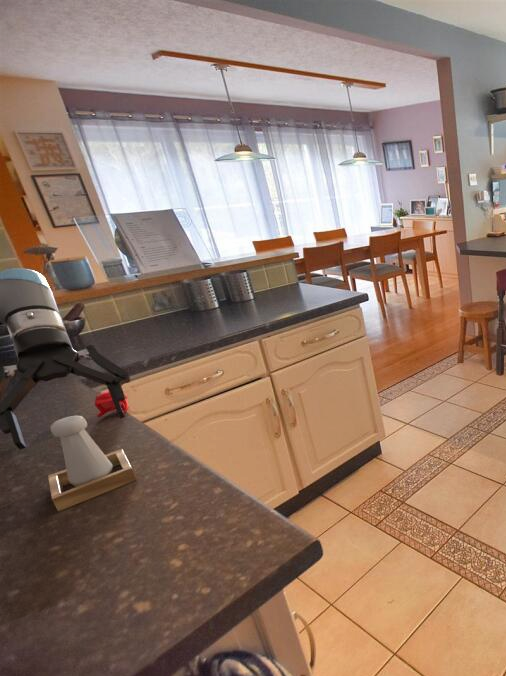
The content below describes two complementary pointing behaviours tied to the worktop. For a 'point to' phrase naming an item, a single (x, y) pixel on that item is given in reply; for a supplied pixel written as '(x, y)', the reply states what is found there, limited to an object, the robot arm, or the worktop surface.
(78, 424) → the salt shaker
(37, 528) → the worktop surface
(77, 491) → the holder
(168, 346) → the worktop surface
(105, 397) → the cap
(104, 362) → the robot arm
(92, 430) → the worktop surface
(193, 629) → the worktop surface
